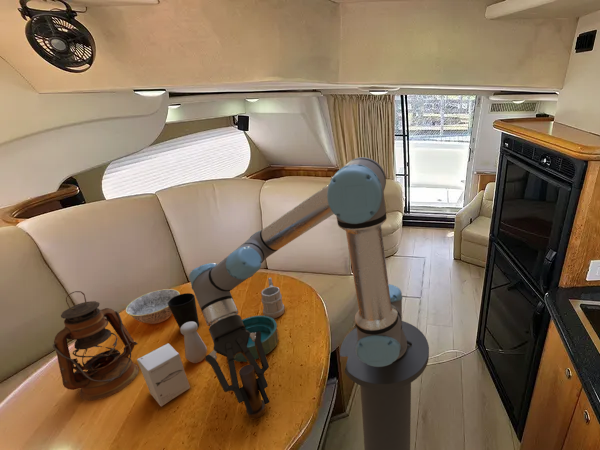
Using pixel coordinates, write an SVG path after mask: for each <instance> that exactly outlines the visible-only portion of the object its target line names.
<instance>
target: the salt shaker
mask: <svg viewBox="0 0 600 450" xmlns="http://www.w3.org/2000/svg"><path fill="white" fill-rule="evenodd" d="M198 328H199V327H198V326H197V323H196V322H193V321H190V322H187V323H185V324H183V325H182V326H181V328H179V331H180V334H182V335H183V339H184V357H185V359H186V360H187V361H189V362H190V363H193V364H197V363H200V362H202V361H204V360H205V357H206V356H207V355H208V347H207V345H206V343H205V342H204V340H203V339H202V337H201V336H200V334H199V333H198V331H197V330H198Z"/></svg>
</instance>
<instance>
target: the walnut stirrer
mask: <svg viewBox="0 0 600 450" xmlns="http://www.w3.org/2000/svg"><path fill="white" fill-rule="evenodd" d="M238 374H239V377H240V381H241V387H242V386H243V387H244V390H245V392H246V395H247V397H248V400H249V402H250V405H251V408H252V410H253V413H252V414H250V415H249V414H248V411H247V409H246V408H245V409H246V410H245V411H246V416H247V418H248V419H250V420H255V419H256V420H257V419H259V418H261V417H262V416H263V415H264V414H265V413H266V410H267V404H265V403H264V401H263V399H262V396H261V393H260V391H259V387H258V383H257V375H256V374H255V371H254V367H253V365H250V364H245V365H243V366H242V367H241V368H240V369H239V372H238Z"/></svg>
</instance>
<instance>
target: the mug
mask: <svg viewBox="0 0 600 450" xmlns="http://www.w3.org/2000/svg"><path fill="white" fill-rule="evenodd" d="M267 280H268V287H265V288H264V289H262V290H261V293H260V294H261V304H262V313H263V316H268V317H271V318H273V319H277V318H280V317H281V316H282V315H284V314H285V304H284V303H283V296H282V293H281V290H280V288H279V287H278V286H276V285H274V283H273V278H272V277H268V278H267Z"/></svg>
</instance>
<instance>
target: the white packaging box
mask: <svg viewBox="0 0 600 450" xmlns="http://www.w3.org/2000/svg"><path fill="white" fill-rule="evenodd" d="M136 361H137V364H138V367H139V370H140V371H141V374H142V377H143V379H144V382H145V384H146V386H147V389H148V392H149V394H150V396H152V397H153V399H154V400H155V402H156V403H157V404H158V405H159V406H160V407H161V408H162V407H163V406H165V405H166V404H168V403H170V401H172V400H173V399H175V398H177V397H178V396H180V395H182V394H183V393H185V392H186V391H188V390H189V389H191V385H190V382H189V380H188V377H187V374H186V371H185V368H184V364H183V362H182V358H181V355H180V353H179V352H178V351H177V350H176V349H175V348H174V347H173V346H172V345H171V344H170V343H165V344H163V345H162V346H160V347H158V348H156V349H154V350H152V351H150V352H148V353H146V354H145V355H143V356H141V357H138V358H136Z"/></svg>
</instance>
